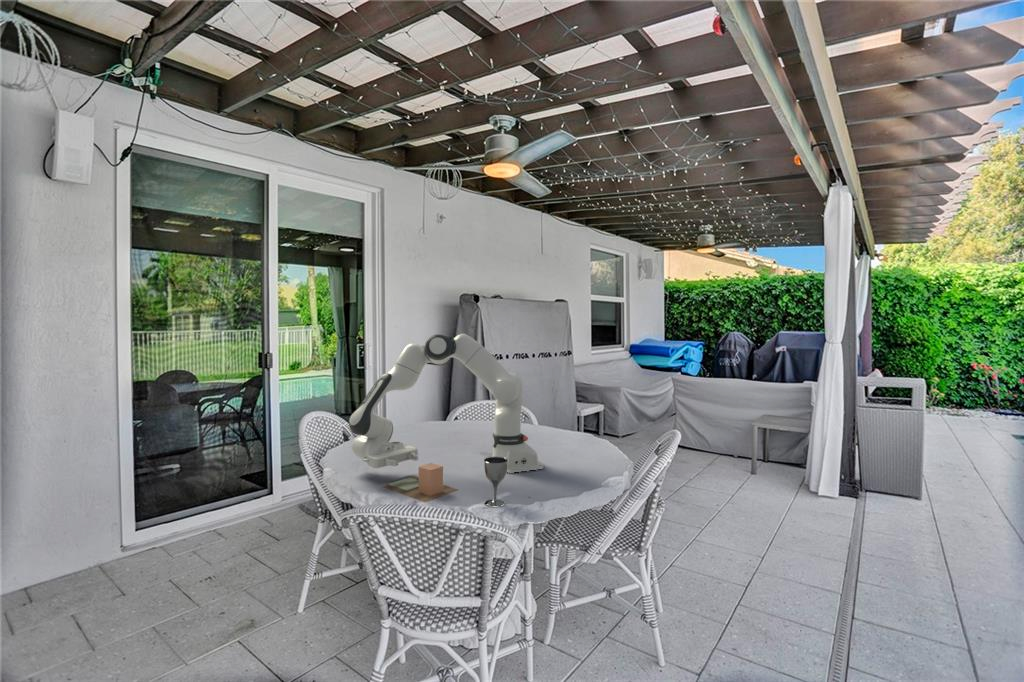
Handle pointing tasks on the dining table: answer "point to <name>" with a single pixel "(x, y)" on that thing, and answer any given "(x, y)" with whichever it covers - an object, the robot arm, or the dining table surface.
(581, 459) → the dining table surface
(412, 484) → the board
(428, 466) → the tall salmon pillar
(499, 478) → the wine glass
